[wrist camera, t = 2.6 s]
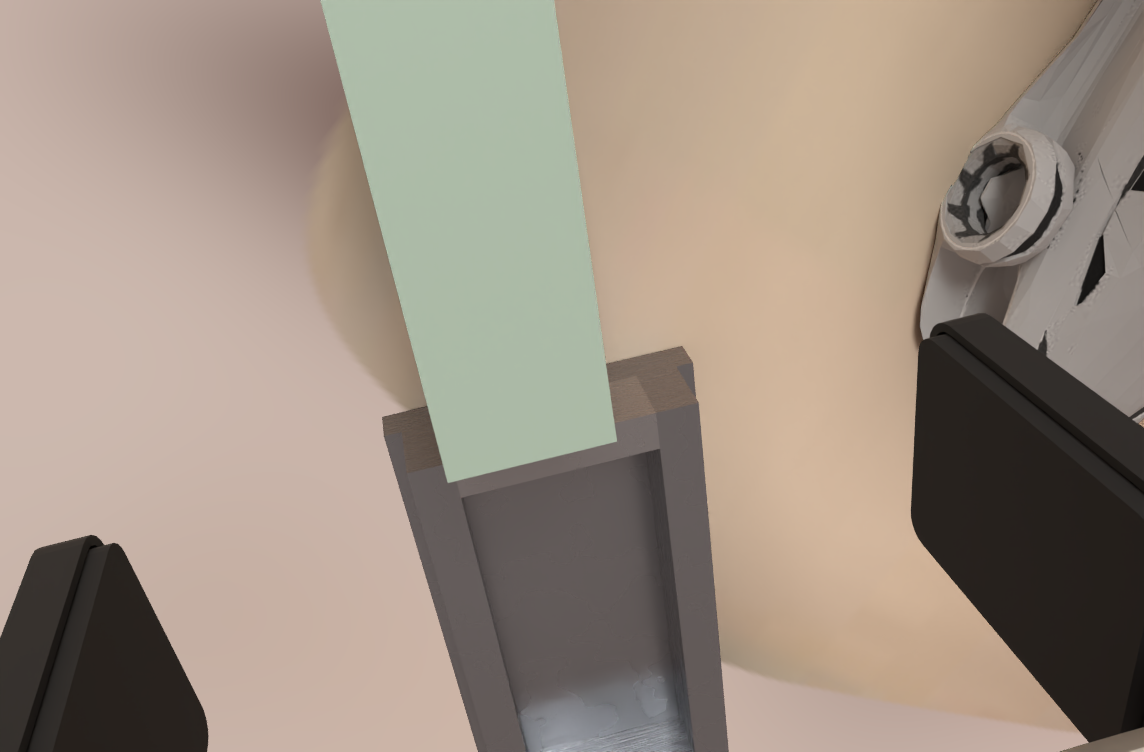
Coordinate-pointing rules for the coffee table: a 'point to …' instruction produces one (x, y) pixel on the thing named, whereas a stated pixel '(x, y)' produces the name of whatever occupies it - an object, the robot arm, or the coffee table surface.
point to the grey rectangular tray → (579, 578)
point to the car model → (1059, 214)
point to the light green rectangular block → (480, 220)
